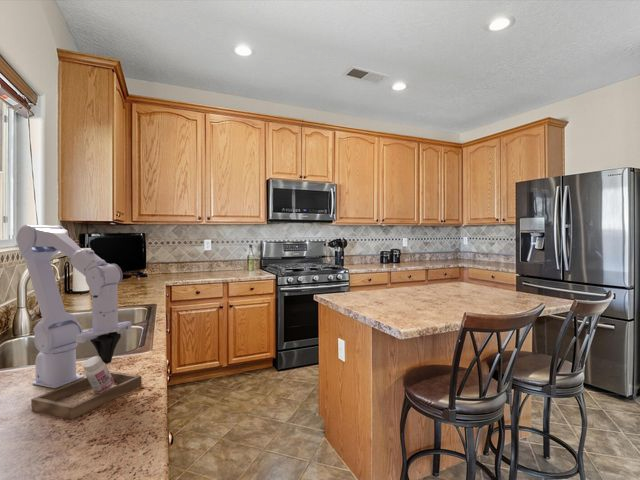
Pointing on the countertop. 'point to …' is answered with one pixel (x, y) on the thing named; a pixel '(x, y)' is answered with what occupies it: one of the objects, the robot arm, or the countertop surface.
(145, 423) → the countertop surface
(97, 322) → the robot arm
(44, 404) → the walnut frame
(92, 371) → the pill bottle
